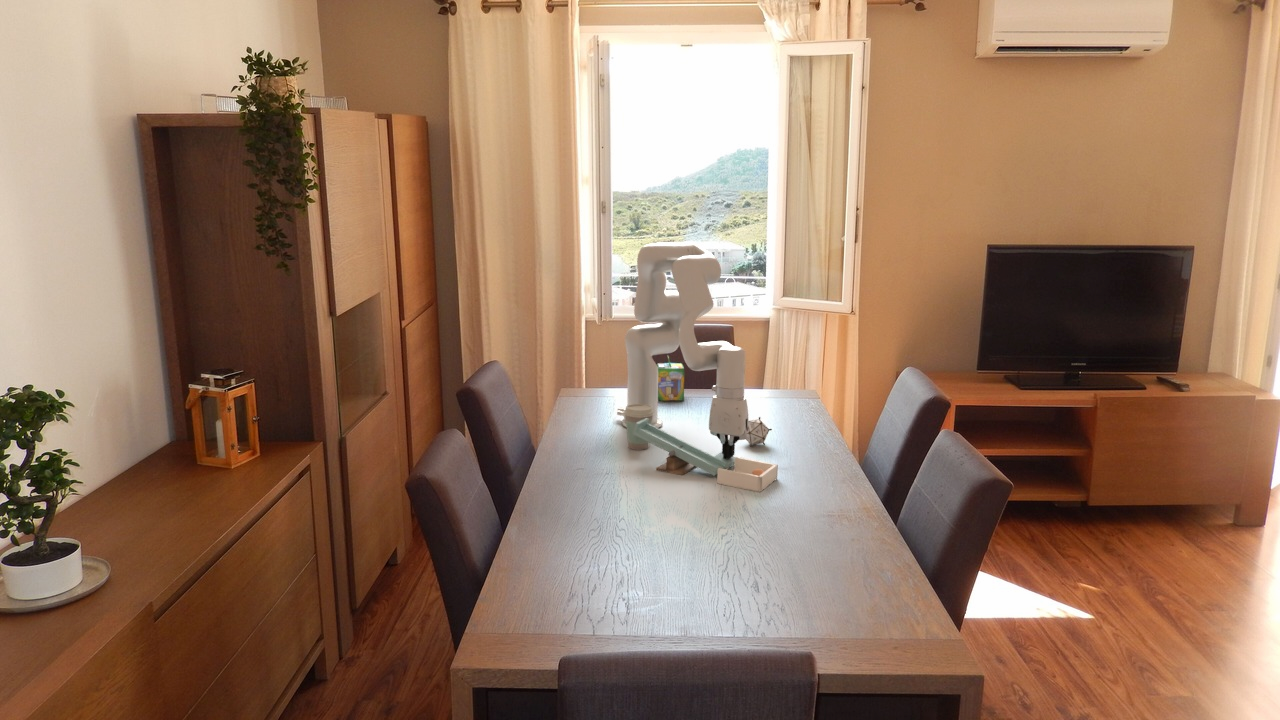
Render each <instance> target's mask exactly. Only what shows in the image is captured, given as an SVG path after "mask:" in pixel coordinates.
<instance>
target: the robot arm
mask: <svg viewBox="0 0 1280 720" xmlns="http://www.w3.org/2000/svg"><path fill="white" fill-rule="evenodd" d="M636 262H637V264H636V266H637V275H638V276H637V277H638V279H637V284H636V291H635V300H634V306H633V307H634V309H633V313H634V318H635V319H636V320H637V321H638V322H640V323H643V324H639V325H635V326H633V327H630V328H629V329H628V330H627V331H626V333H625V336H624V345H625V349H626V358H627V402H626V404H627V405H630V404H647V405H650V406H652V409H653V413H654V415H653V417H652V425H653V426H655V427H657V428H658V429H660V428H661V427H662V425H663V421H662V419H660V418H659V417H658V411H659V407H658V405H659V401H658V367H657V364H656V361H654V359H653V356H657V355H666V354H671V353H673V352H676V350H678V348H680V350H681V354H682V357H683V360H684V362H685V364H686V366H687V367H688V368H689V370H692V371H693V372H694V371H695V372H701V371H710V370H711V371H712V370H716V384H715V385H712V387H711V391H713V392H715V395H713V396H712V399H711V405H710V409H709V410H710V411H709V417H708V418H709V419H708V430H709V433H710V435H712V436H715V437H717V438H718V441H720V443H721V446H722V447H721V452H722V454H723V458H725V459H726V458H727V459H730V458H732V457H733V456H735V447H736V445H735V444H736V443H737V442H738V441H743V440H746V439H747V438H748V435H747V431H748V424H749V421H750V420H749V408H748V401H747V397H745V379H746V377H745V376H746V375H745V374H746V351H745V349H744V348H743V347H740V346H736V345H735V346H734V345H732V343H730V342H728V341H725V340H717V341H707V342H698V340H697V338H696V334H695V324H696V321H697V319H699V318H701V317H703V316H704V315H706V314H707V313H709V312H711V310H712V309H713V307H714V300H713V298H712V297H713V296H712V294H711V292H710V289H709V286H708V285H713V284H716V283H718V281H719V280H720V278H721V276H722V269H721V263H720V262H719V260H718V259H717V258H716V257H715V256H714V255H713V254H712V253H711V252H710V251H708V250H706V249H705V248H703V247H701V246H699V245H698V244H696V243H694V242H690V241H681V242H680V241H679V242H678V241H677V242H656V243H655V242H654V243H649V244H645V245H643V246H642V247H641V248H640V249H639V252H638V254H637V259H636ZM669 272H671V273H672V274H671V275H672V277H673V281H674V283H675V287H676V290H672V289H668V290H666V287H667V286H666V285H667V277H666V274H665V273H669ZM646 323H647V324H646ZM627 405H626V406H627ZM625 409H626V408H625V407H624V408H623V407H618V408H617V412H616V415H617V416H623V419H622V421H621V425H622V426H623V427H625V428H627V427H626V417H625V414H624V412H625Z"/></svg>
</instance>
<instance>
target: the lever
mask: <svg viewBox="0 0 1280 720" xmlns="http://www.w3.org/2000/svg"><path fill="white" fill-rule="evenodd" d="M648 420H649V419H648V418H645V419H643V420H641V421H639V422H637V423H636V424H635V427H634V431H633V434H634V435H636V436H638V437H640V438H642V439H644V440H646V441H648V442H649V444H652V445H654V446H656V447H658V448H659V449H661V450H663V451H665V452H667V453H668V457H669V456H673V455H675V456H677V457H679V458H681V459H682V460H684V461H686V462H688V463H690V464H692V465H694V466H696V467H695V468H698V469H699V470H700V469H701V470H702V471H704V472H706V473H707V474H710V475H712V476H713V477H715V476H716V475H718V468H721V469H727V470H729V469H730V468H731V467H733V466H734V464H735V457H736V456H735V455H733V457H732V458H730V459H727V458H726V459H725V458H723V454H722V451H720V452H719V453H717V454H716V455H712V454H710V453H708V452H706V451H704V450H702V449H700V448H698V447H696V446H695V445H694V446H693V445H692V444H690V443H688V442H686V441H684V440H682V439H680V438H678V437H676V436H675V435H672V434H671V433H668V432H666V431H665V430H663V429H660V428H657V427H655V426H653V425H651V424H649V423H648Z"/></svg>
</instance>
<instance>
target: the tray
mask: <svg viewBox="0 0 1280 720" xmlns="http://www.w3.org/2000/svg"><path fill="white" fill-rule="evenodd" d="M734 457H735V464H734V465H733V467H734V469H733V470H731V469H721V468H718V474H717V478H716V479H717V481H716V483H717V484H718V485H723V486H727V487H732V488H737V489H742V490H747V491H752V492H757V493H761V492H763V491H764V490H765V489H767V488H768V487H769V486H770V485H771V484H773V483H774V482H775V481H776V480H775V479H777V480H778V470H779V469H778V467H779V465H778V464H776V463H771V462H766V461H760V460H755V459H751V458H745V457H739V456H734ZM756 469H762V470H763V471H764V473H762V474H761V475H760V476H757V475H752V472H753V471H754V470H756ZM774 480H775V481H774ZM773 481H774V482H773ZM772 482H773V483H772ZM769 484H770V485H769ZM768 485H769V486H768ZM767 486H768V487H767ZM763 489H764V490H763ZM762 490H763V491H762Z"/></svg>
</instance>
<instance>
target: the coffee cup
mask: <svg viewBox="0 0 1280 720" xmlns="http://www.w3.org/2000/svg"><path fill="white" fill-rule="evenodd" d="M624 409H625V412H624V414H625V417H626V427H625V428H626V435H627V443H628V444H627V445H628V448H629V449H630V450H635V451H637V450H638V451H641V450H646V449H648V448H649V447H650V443H649V442H648V441H646V440H644V439H642V438H640V437H638V436H636V435H634V434H633V431H634V427H635V424H636V423H637V422H639V421H641V420H643V419H645V418H648V419H649V420H648V423H649V424H651V425H652V417H653V415H654V413H653V409H652V406H650V405H647V404H630V405H626V406H625V408H624Z"/></svg>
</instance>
